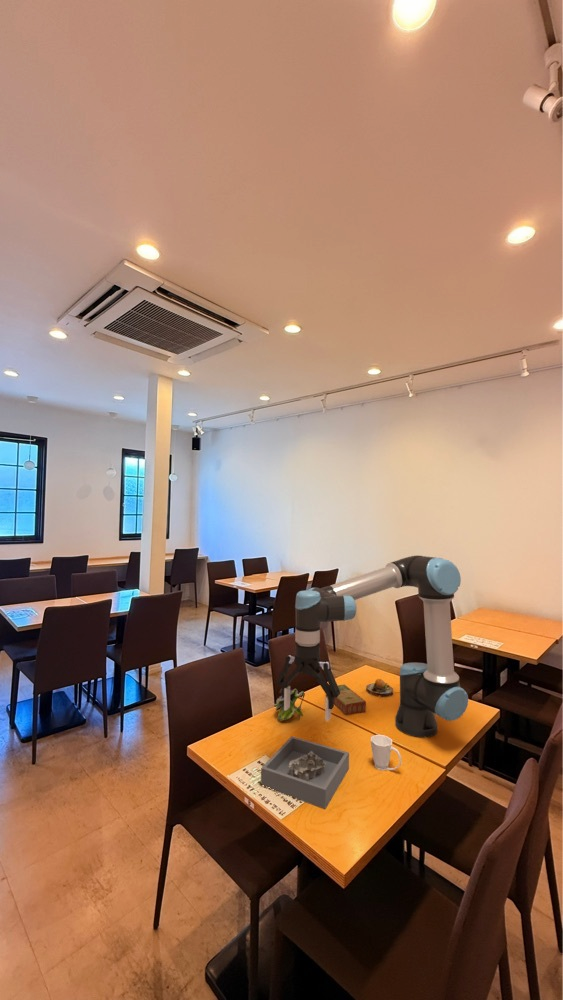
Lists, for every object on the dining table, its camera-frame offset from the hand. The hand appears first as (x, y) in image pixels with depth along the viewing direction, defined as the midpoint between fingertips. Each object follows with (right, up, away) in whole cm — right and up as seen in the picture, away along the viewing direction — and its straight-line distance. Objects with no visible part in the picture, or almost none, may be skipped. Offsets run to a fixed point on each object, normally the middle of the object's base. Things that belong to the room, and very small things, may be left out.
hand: (307, 714), depth 124 cm
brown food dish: (+37, -22, +61) cm, 75 cm away
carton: (+19, -22, +48) cm, 56 cm away
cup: (+25, -19, +4) cm, 32 cm away
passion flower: (-4, -21, +37) cm, 43 cm away
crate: (0, -19, -1) cm, 19 cm away
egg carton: (0, -18, 0) cm, 18 cm away
